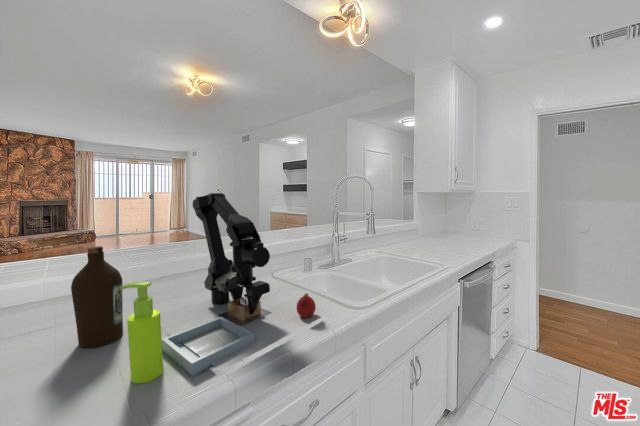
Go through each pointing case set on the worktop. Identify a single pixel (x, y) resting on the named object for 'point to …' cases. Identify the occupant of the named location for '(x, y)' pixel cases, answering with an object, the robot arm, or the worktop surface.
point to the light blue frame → (200, 364)
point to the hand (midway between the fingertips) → (244, 310)
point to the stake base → (243, 302)
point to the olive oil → (97, 301)
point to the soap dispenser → (144, 336)
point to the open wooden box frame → (241, 310)
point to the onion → (306, 306)
